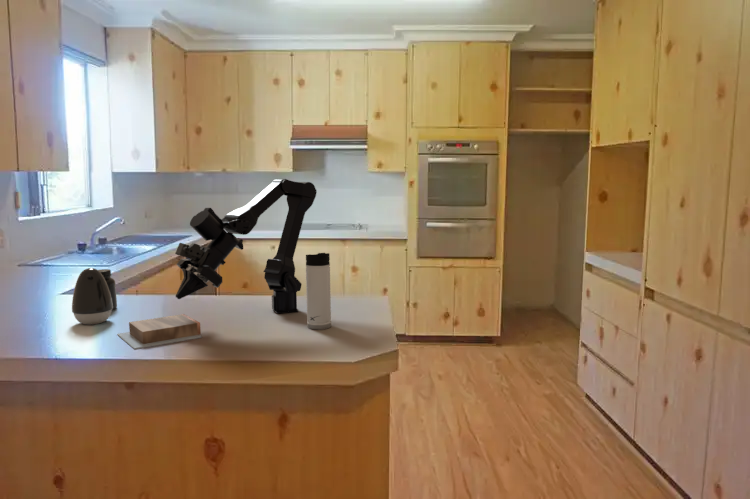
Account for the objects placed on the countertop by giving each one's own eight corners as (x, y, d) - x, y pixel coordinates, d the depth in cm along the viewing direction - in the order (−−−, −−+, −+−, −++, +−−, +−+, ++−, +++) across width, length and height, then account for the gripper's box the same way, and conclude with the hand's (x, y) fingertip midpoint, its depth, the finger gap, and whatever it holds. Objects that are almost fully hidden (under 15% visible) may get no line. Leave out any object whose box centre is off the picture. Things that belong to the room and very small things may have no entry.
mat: (180, 324, 158) (180, 323, 158) (201, 337, 146) (201, 336, 146) (117, 334, 149) (117, 333, 149) (134, 349, 136) (134, 348, 136)
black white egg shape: (71, 328, 155) (67, 272, 154) (74, 320, 165) (70, 266, 163) (113, 324, 159) (110, 269, 158) (113, 316, 169) (110, 264, 167)
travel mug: (313, 331, 151) (311, 254, 148) (303, 325, 156) (302, 251, 154) (335, 328, 154) (333, 252, 151) (325, 322, 159) (324, 249, 157)
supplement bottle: (97, 307, 182) (95, 268, 180) (120, 306, 182) (117, 268, 181) (88, 312, 175) (86, 272, 173) (112, 311, 175) (109, 271, 174)
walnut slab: (183, 314, 157) (129, 322, 148) (200, 322, 147) (142, 331, 139) (184, 325, 157) (129, 333, 149) (200, 334, 148) (143, 344, 139)
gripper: (182, 228, 158) (142, 273, 152) (208, 233, 143) (164, 283, 138) (212, 255, 163) (174, 299, 158) (239, 262, 148) (199, 311, 143)
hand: (177, 298), depth 149 cm, fingers closed
